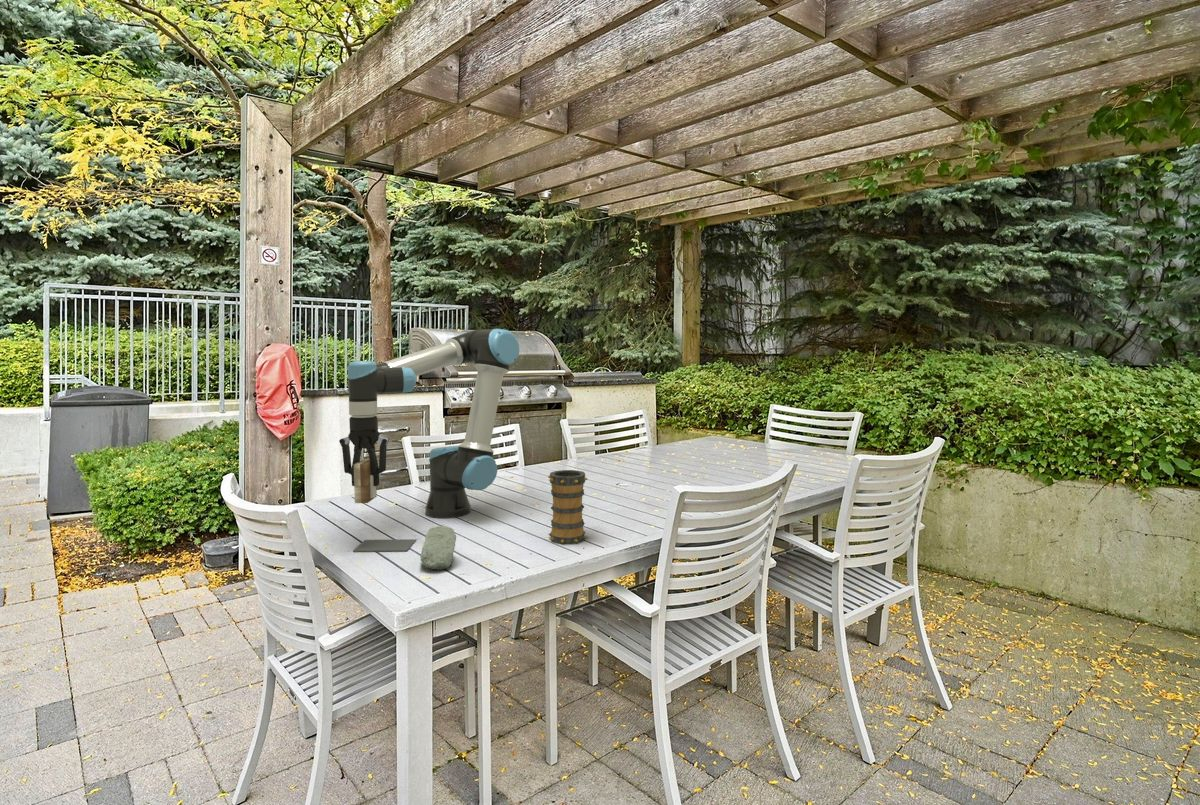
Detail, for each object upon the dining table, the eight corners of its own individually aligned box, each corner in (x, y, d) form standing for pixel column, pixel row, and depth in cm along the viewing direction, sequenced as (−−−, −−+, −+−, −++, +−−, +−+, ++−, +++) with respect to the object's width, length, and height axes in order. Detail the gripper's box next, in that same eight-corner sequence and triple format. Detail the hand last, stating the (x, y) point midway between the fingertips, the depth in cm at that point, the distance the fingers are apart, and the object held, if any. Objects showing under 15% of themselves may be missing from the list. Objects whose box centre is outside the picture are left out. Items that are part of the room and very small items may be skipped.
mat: (416, 540, 186) (416, 539, 186) (407, 551, 176) (407, 550, 176) (365, 541, 185) (365, 539, 185) (353, 552, 175) (353, 550, 175)
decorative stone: (432, 553, 174) (414, 530, 169) (467, 540, 173) (450, 517, 168) (428, 591, 164) (408, 568, 158) (465, 577, 163) (447, 554, 157)
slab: (376, 496, 183) (375, 459, 182) (367, 503, 175) (366, 464, 174) (364, 496, 183) (363, 459, 182) (354, 503, 175) (353, 464, 174)
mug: (540, 543, 183) (539, 476, 181) (557, 527, 200) (557, 465, 198) (582, 547, 180) (582, 479, 178) (596, 530, 197) (597, 467, 195)
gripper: (396, 414, 181) (399, 493, 183) (338, 414, 180) (341, 494, 182) (389, 417, 173) (391, 500, 176) (328, 417, 173) (331, 500, 175)
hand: (366, 496), depth 179 cm, fingers closed on slab, 3 cm apart
